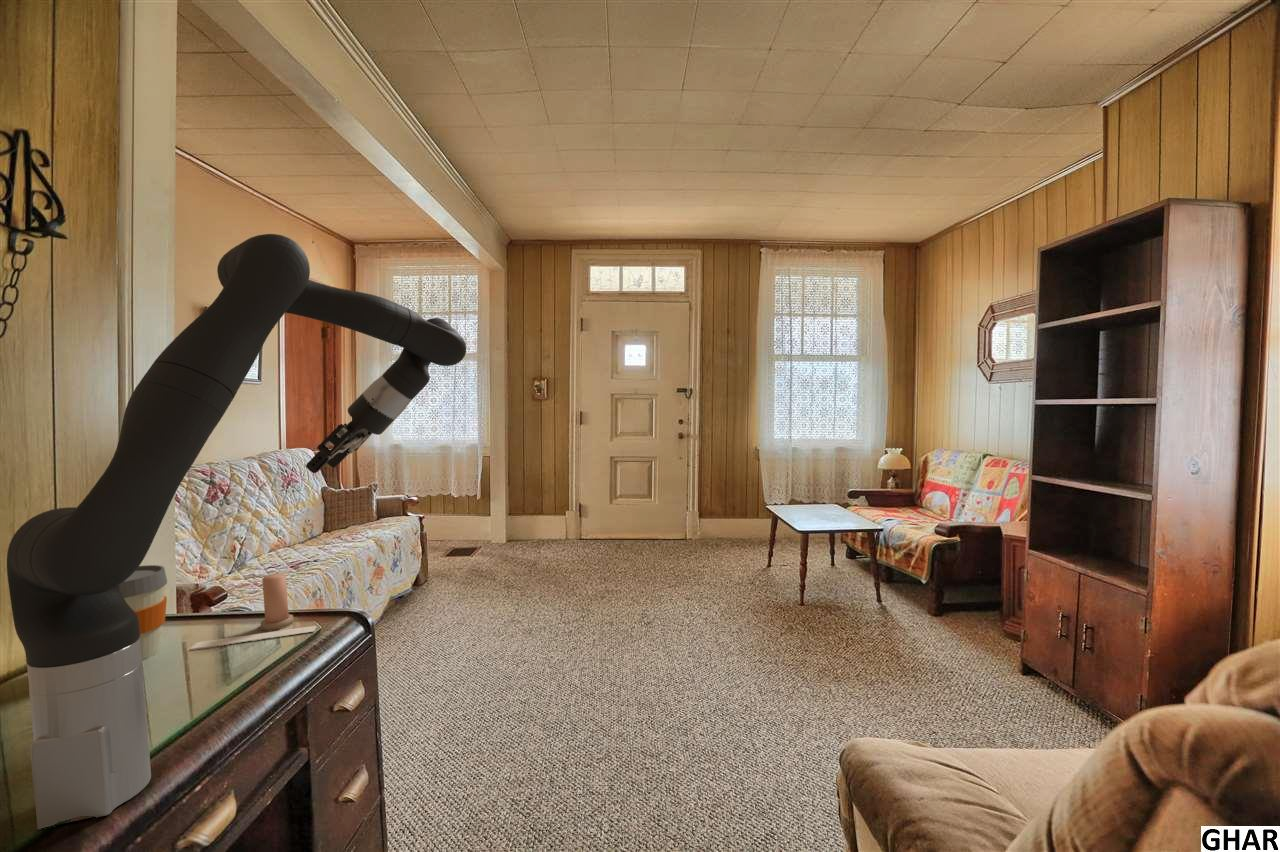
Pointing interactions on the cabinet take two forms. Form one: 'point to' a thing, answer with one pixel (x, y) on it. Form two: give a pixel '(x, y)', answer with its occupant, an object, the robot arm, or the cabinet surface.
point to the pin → (275, 603)
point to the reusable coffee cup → (147, 604)
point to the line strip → (250, 637)
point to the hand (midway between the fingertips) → (320, 467)
